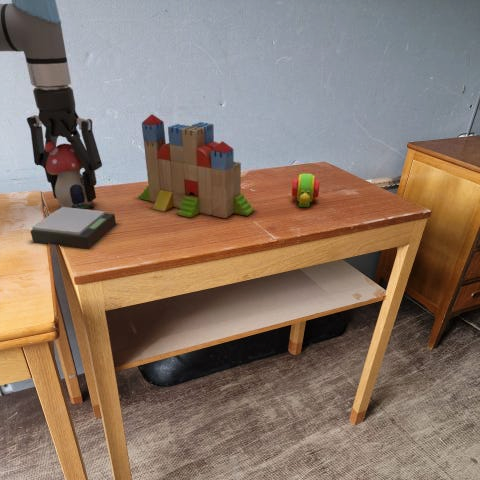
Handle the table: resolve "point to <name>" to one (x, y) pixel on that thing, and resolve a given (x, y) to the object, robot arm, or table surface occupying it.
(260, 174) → the table surface
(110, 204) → the table surface
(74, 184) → the decorative ornament
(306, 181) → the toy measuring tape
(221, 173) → the block set
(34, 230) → the kitchen scale
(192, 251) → the table surface
